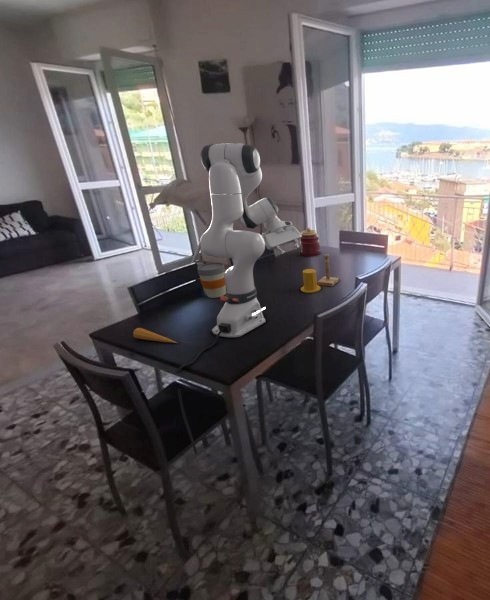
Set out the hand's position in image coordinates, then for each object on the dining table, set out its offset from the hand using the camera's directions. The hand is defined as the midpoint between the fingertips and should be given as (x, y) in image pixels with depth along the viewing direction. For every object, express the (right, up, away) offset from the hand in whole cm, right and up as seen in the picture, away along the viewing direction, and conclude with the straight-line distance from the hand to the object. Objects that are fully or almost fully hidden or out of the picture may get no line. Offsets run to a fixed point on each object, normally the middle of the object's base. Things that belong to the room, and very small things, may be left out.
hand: (290, 250), depth 182 cm
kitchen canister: (+1, +6, +59) cm, 59 cm away
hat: (+10, -20, +2) cm, 22 cm away
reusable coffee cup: (-37, -23, -2) cm, 44 cm away
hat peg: (+18, -16, +10) cm, 26 cm away
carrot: (-43, -41, -43) cm, 74 cm away
